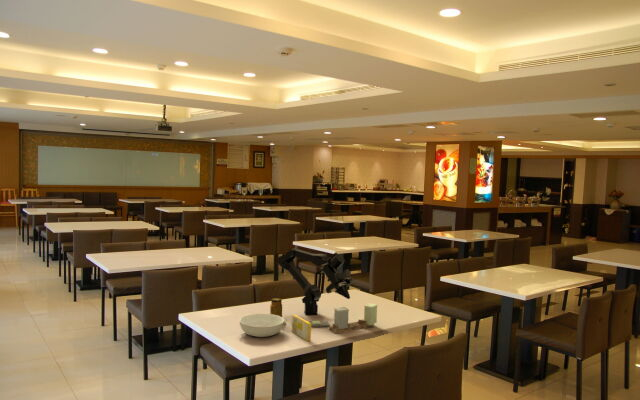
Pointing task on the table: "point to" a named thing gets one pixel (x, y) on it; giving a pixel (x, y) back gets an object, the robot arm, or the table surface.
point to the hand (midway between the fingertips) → (349, 298)
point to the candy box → (301, 327)
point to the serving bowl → (261, 324)
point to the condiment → (276, 307)
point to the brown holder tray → (349, 326)
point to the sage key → (370, 314)
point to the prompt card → (319, 324)
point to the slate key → (341, 317)
